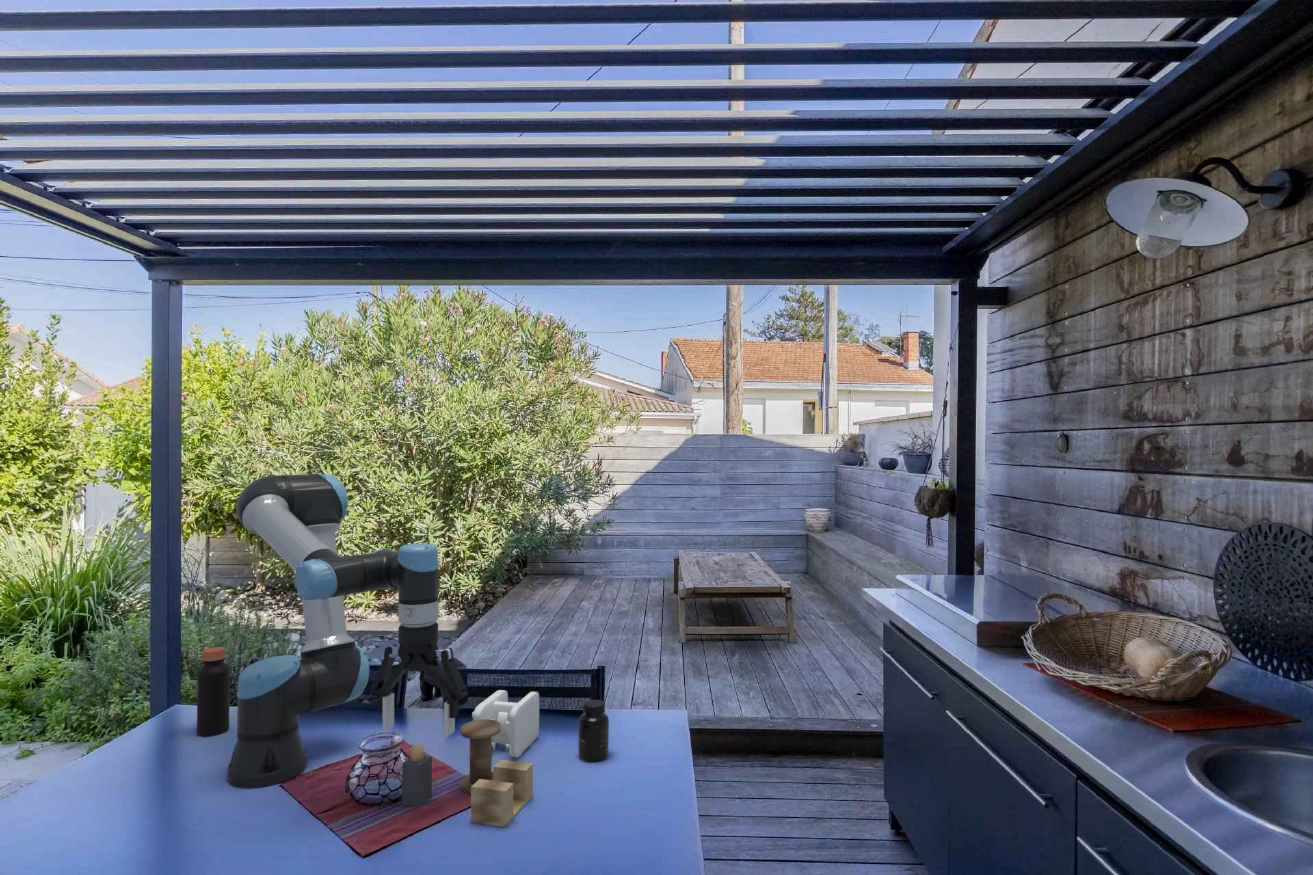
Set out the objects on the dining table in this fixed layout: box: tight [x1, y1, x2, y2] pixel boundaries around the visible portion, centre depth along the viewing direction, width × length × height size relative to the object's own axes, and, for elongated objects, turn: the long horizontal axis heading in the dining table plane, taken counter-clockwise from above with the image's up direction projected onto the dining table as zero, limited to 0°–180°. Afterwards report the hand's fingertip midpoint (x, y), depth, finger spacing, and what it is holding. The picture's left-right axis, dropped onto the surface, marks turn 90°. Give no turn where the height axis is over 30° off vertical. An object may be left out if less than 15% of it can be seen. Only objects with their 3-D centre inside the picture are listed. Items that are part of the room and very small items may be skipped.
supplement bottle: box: [577, 699, 610, 763], centre depth 162 cm, size 7×7×12 cm
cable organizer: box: [471, 689, 540, 759], centre depth 167 cm, size 15×11×12 cm
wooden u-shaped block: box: [470, 759, 534, 828], centre depth 138 cm, size 7×12×7 cm, turn 166°
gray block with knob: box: [401, 744, 433, 807], centre depth 142 cm, size 4×4×10 cm
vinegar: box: [196, 646, 231, 737], centre depth 176 cm, size 7×7×20 cm
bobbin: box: [460, 719, 501, 794], centre depth 148 cm, size 8×8×12 cm
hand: (418, 731), depth 142 cm, fingers open, 13 cm apart
